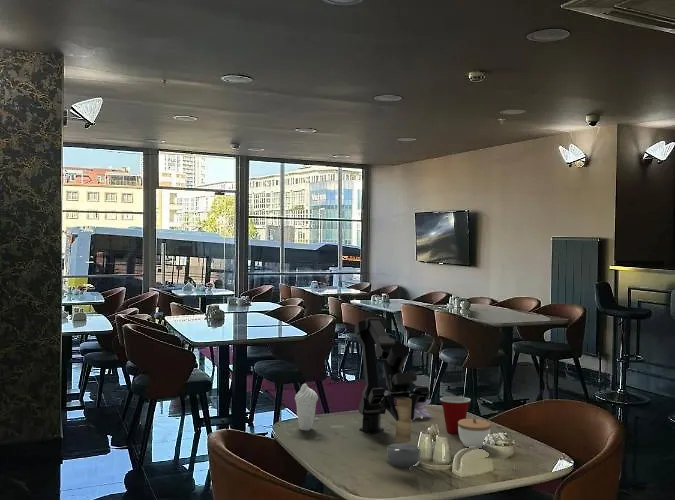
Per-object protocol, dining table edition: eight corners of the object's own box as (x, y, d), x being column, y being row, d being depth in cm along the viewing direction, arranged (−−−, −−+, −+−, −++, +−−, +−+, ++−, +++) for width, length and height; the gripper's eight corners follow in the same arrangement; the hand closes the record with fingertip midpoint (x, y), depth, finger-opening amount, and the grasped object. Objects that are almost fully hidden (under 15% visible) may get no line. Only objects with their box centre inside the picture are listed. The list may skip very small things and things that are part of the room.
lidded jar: (453, 441, 218) (454, 413, 218) (484, 441, 219) (485, 413, 219) (462, 451, 207) (463, 422, 207) (494, 451, 208) (495, 422, 208)
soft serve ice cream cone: (321, 427, 230) (322, 383, 230) (310, 433, 223) (311, 387, 222) (300, 424, 234) (301, 380, 233) (289, 430, 226) (290, 384, 226)
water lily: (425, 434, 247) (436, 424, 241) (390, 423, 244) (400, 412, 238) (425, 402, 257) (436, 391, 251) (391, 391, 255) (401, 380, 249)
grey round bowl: (398, 453, 203) (399, 441, 203) (425, 461, 197) (426, 448, 197) (380, 461, 196) (380, 448, 196) (407, 469, 189) (407, 456, 189)
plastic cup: (460, 426, 236) (461, 393, 236) (475, 434, 226) (476, 400, 225) (433, 428, 232) (434, 395, 232) (448, 437, 222) (449, 402, 222)
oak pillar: (398, 436, 199) (399, 396, 199) (412, 438, 198) (413, 398, 197) (393, 441, 195) (395, 400, 195) (408, 443, 193) (409, 401, 193)
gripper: (372, 362, 197) (382, 407, 187) (428, 360, 202) (441, 404, 191) (364, 381, 205) (373, 426, 195) (419, 380, 210) (431, 423, 199)
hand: (405, 419), depth 195 cm, fingers closed on oak pillar, 4 cm apart
